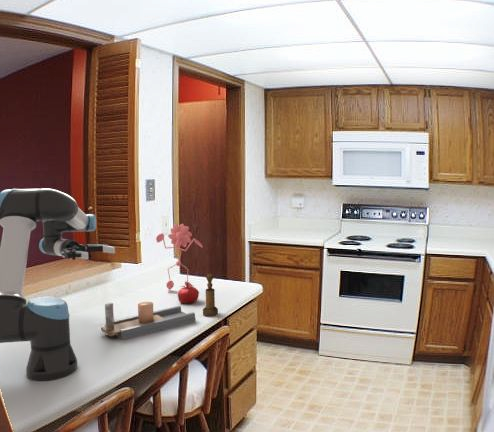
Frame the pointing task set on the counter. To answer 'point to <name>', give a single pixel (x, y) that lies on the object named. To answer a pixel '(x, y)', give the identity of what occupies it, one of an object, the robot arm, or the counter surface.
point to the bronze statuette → (210, 299)
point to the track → (156, 322)
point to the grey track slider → (115, 328)
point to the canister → (145, 312)
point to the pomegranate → (188, 294)
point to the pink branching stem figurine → (178, 245)
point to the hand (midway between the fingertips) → (101, 253)
